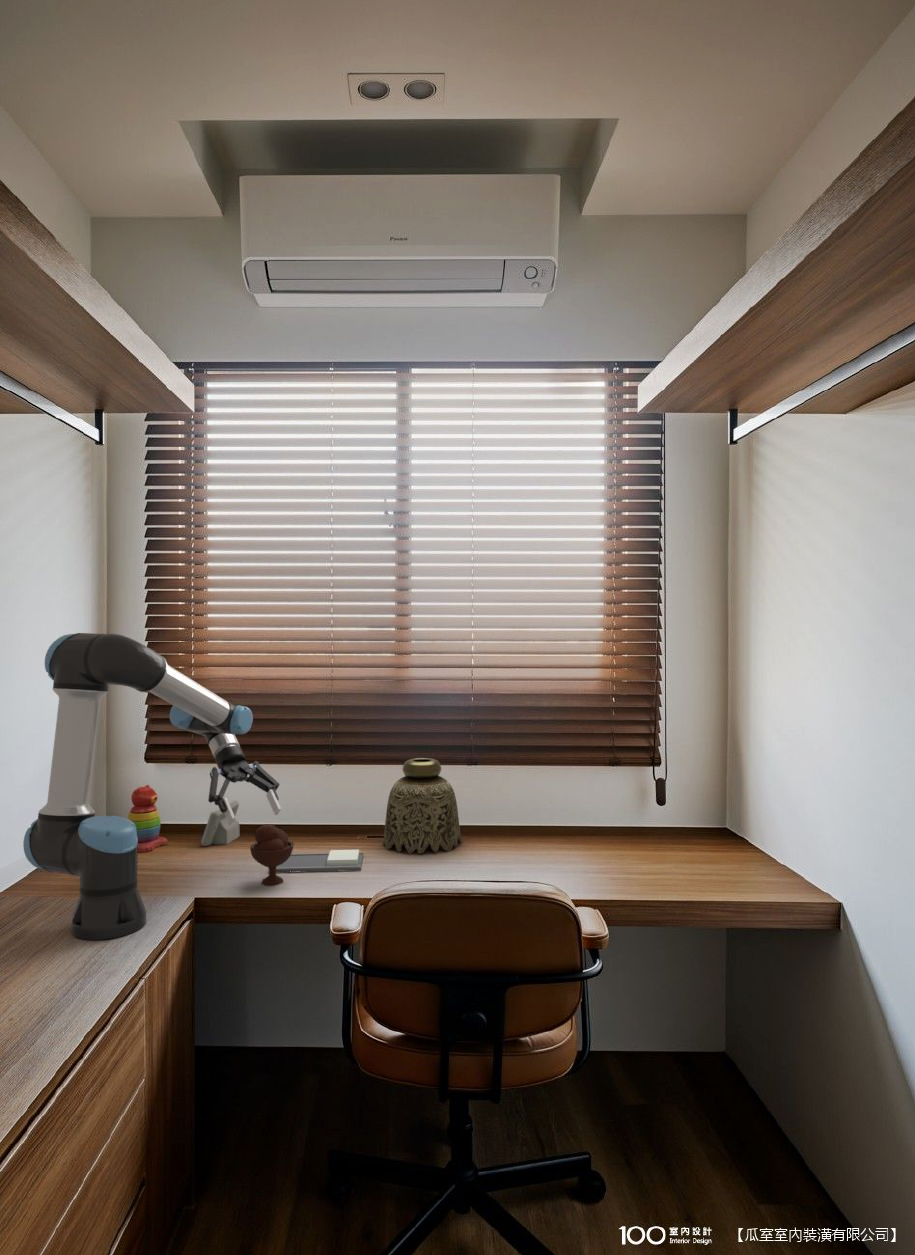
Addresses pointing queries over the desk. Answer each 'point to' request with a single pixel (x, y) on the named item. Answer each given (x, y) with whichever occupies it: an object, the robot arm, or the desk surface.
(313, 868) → the tray
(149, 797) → the stacking bear
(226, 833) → the digital clock
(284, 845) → the ice cream bowl
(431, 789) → the lamp shade
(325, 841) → the desk surface
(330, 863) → the pale green flat block
